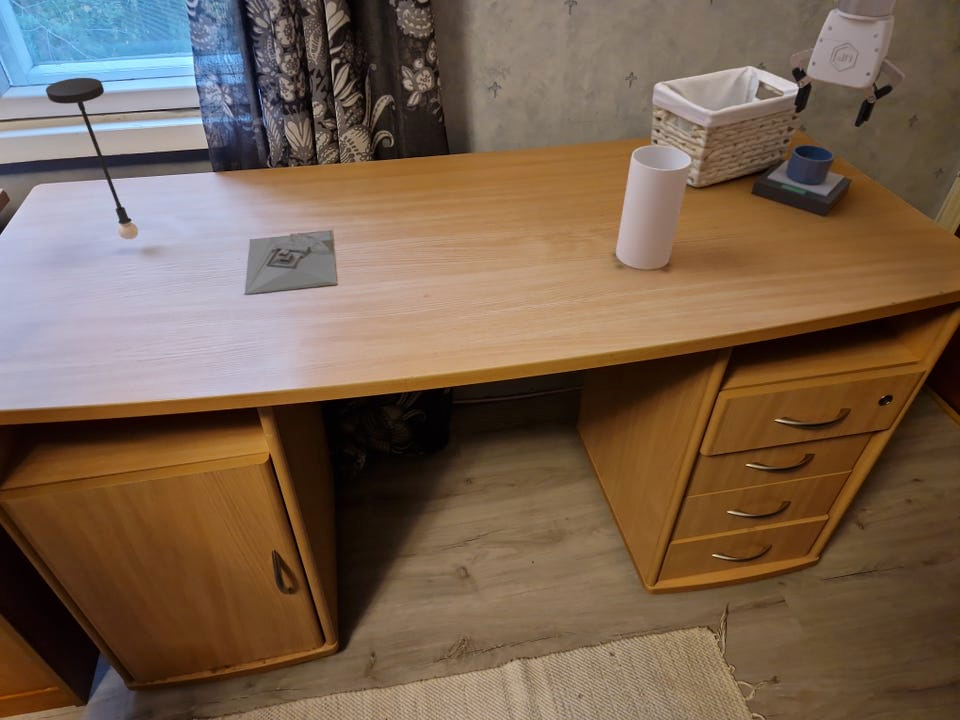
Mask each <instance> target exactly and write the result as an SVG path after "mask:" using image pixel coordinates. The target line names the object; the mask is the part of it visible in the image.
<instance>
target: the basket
mask: <svg viewBox="0 0 960 720" xmlns="http://www.w3.org/2000/svg"><path fill="white" fill-rule="evenodd" d="M760 88H763V89H765V90H767V91H769V92H772V93H774V94H776V95H778V96H775V97H770V98H766V99H760V98H758V97H757V96H759V92H760ZM798 89H799V87H798V86H797V83H795V82H793V81H790V80H788V79H786V78H784V77H781V76H778V75H776V74H773V73H771V72H769V71H766V70H763V69H759V68H757V67H755V66H751V65H746V66H742V67H738V68H730V69H725V70H719V71H714V72H711V73H705V74H704V73H703V74H700V75H695V76H689V77H683V78H677V79H671V80H666V81H660V82H657V83H656V84H655V85H654V86H653V95H652V100H651V101H652V102H651V103H652V110H653V111H652V121H651V134H650V135H651V136H650V140H651V141H650V146H654V145H657V146H667V147H672V148H676V149H678V150H681V151H683V152H685V153H686V154H688V155H689V157H690V158H691V165H690V170H689V174H688V179H687V183H686V185H689V186H692V187H693V188H701V187H708V186H711V185H713V184H718V183H721V182H724V181H729V180H732V179H735V178H740V177H742V176H746V175H751V174H754V173H757V172H763V171H764V170H768V169H770V168H771V167H772V166H773V165H774V164H775V163H777V162H778V161H779V160H780V159H782V160H785V159H786V157H787V155H788V154H787V153H788V151H789V149H790V147H791V144H792V140H793V138H794V137H795V134H796V131H797V128H798V125H799V123H800V122H801V117H802V116H803V115H804V113H805V110H806V108H805V109H804V110H803V111H801V112H800V113H795V110H796V106H795V105H794V103H795V99H796V96H797V92H798ZM809 99H810V97H809V98H808V101H807V104H808V103H809Z"/></svg>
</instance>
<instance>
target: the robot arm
mask: <svg viewBox="0 0 960 720" xmlns="http://www.w3.org/2000/svg"><path fill="white" fill-rule="evenodd" d="M896 1H897V0H832V2H835V3H836V6H835V7H836V8H834V9H832V10H830V11H829V13H828V15H827V16H826V19H825V21H824V23H823V26H822V27H821V30H820V32H819V35H818V38H817V40H816V43H815V45H814V47H812V48H809V49H808V48H807V49H805V50H801V51H799V52H795V53H793V54H791V56H790V57H789V64H790V67H791V74H792V76H793V78H794V80H795V82H796V84H797V86H798V87H799V89H798V92H797V96H796V99H795V103H794V105H795V106H796V110H795V113H800V112H801V111H803V110H804V109H805V110H806V107H807V105H808V103H807V101H808V102H809V99H810V94H811V91H812V88H813V86H812V81H816V82H821V83H824V84H825V83H826V84H829V85H835V86H840V87H844V88H850V89H856V90H862V91H863V94H864V96H865V99H864V100H863V101H862V102H861V105H860V108H859V110H858V114H857V117H856V119H855V121H854V127H857V128H860V127H861V126H862V125H863V124H864V123H865V122H868V121H869V120H870V118H871V115H872V113H873V110H874V107H875V105H876V101H878V100H880V99H882V98H883V97H885V96H887V95H890V93H891V92H892V91H894V90H895V88H896V87H898V86H899V84H901V82H903V81H904V80H905V79H906V74H905V73H904V72H903V71H901V70H900V69H899V68H898V67H897V66H896V65H894V64H893V63H892V62H891V61H890V60H889V59H887V55H888V51H889V47H890V43H891V40H892V35H893V31H894V25H895V16H894V15H892V12H893V10H894V7H895V4H896ZM808 59H809V62H808V66H807V69H806V71H805V69H804V68H803V66H802V61H804V60H808ZM882 72H883V73H884V74H885V75H886V76H887V77H889V78H890V80H889V81H888V83H887V84H885V85H883V86H882V87H879V85H878V83H877V81H878V80H879V78H880V76H881V74H882ZM808 98H809V99H808ZM805 110H804V111H805Z"/></svg>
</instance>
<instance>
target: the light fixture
mask: <svg viewBox="0 0 960 720" xmlns="http://www.w3.org/2000/svg"><path fill="white" fill-rule="evenodd" d="M45 92H46V95H47V97H48V100H49V101H51V102H52V103H56V104H63V105H65V104H77V106H78V109H79V111H80V112H81V115H82V118H83V121H84V123H85V125H86V128H87V131H88V133H89V134H88V135H89V136H90V138H91V141H92V144H93V147H94V150H95V152H96V155H97V157H98V159H99V160H98V161H99V163H100V165H101V168H102V170H103V173H104V175H105V179H106V181H107V183H108V187H109V189H110V191H111V192H110V193H111V194H112V197H113V199H114V202H115V205H116V208H115V212H116V215H117V217H118V224H119V226H118V229H117V230H118V234H119V236H120V237H121V238H122V239H123V240H133V239H135V238H137V236H138V234H139V229H138V226H137V225H136V224H134V223H133V222H132V219H131V218H130V217H129V216H128V214H127V210H126V208H125V207H124V206H122V204H121V201H120V200H119V197H118V194H117V192H116V189H115V187H114V183H113V181H112V178H111V175H110V172H109V170H108V168H107V165H106V162H105V160H104V157H103V154H102V152H101V149H100V146H99V143H98V141H97V138H96V135H95V133H94V130H93V128H92V125H91V122H90V120H89V119H90V118H89V117H88V114H87V111H86V108H85V104H84V103H85V102H89V101H92V100H95V99H97V98H99V97H101V96H102V95H103V94H104V93H105V89H104V86H103V83H102V81H101V79H97V78H92V77H75V78H68V79H63V80H59V81H57V82H54V83H51V84H50V85H48V86H47V87H46V88H45Z"/></svg>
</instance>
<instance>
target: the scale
mask: <svg viewBox="0 0 960 720" xmlns="http://www.w3.org/2000/svg"><path fill="white" fill-rule="evenodd" d="M788 162H789V159H786V160H785V159H784V160H782V159H780V160H779V161H778V162H777V163H775V164H774V165H773V166H772V167H771V168H769V169H766V171H765V172H764V173H762V174H761V175H760V176H759V177H758V178H756V179H755V180H754V182H753V186H752V189H751V194H752V195H754V196H758V197H761V198H764V199H767V200H771V201H774V202H778V203H780V204H783V205H786V206H789V207H793V208H797V209H798V210H803V211H806V212H808V213H812V214H814V215H818V216H821V217H826V216H827V215H828V214H829V213H830V211H832V209H833V208H834V207H835V206H836V205H837V204H838V203H839V202H840V201H841V199H842V198H843V197H844V196H845V195H846V194H847V193H848V191H849V189H850V186H851V183H852V181H853V179H852V178H848V177H845V175H842V174H839V173H836V172H833V171H829V174H828V177H827V179H826V180H825V181H824V182H821V183H819V184H814V185H809V184H802V183H798V182H796V181H793V180H792V179H790V178H789V177H788V175H787V174H786V168H787V165H788Z"/></svg>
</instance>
